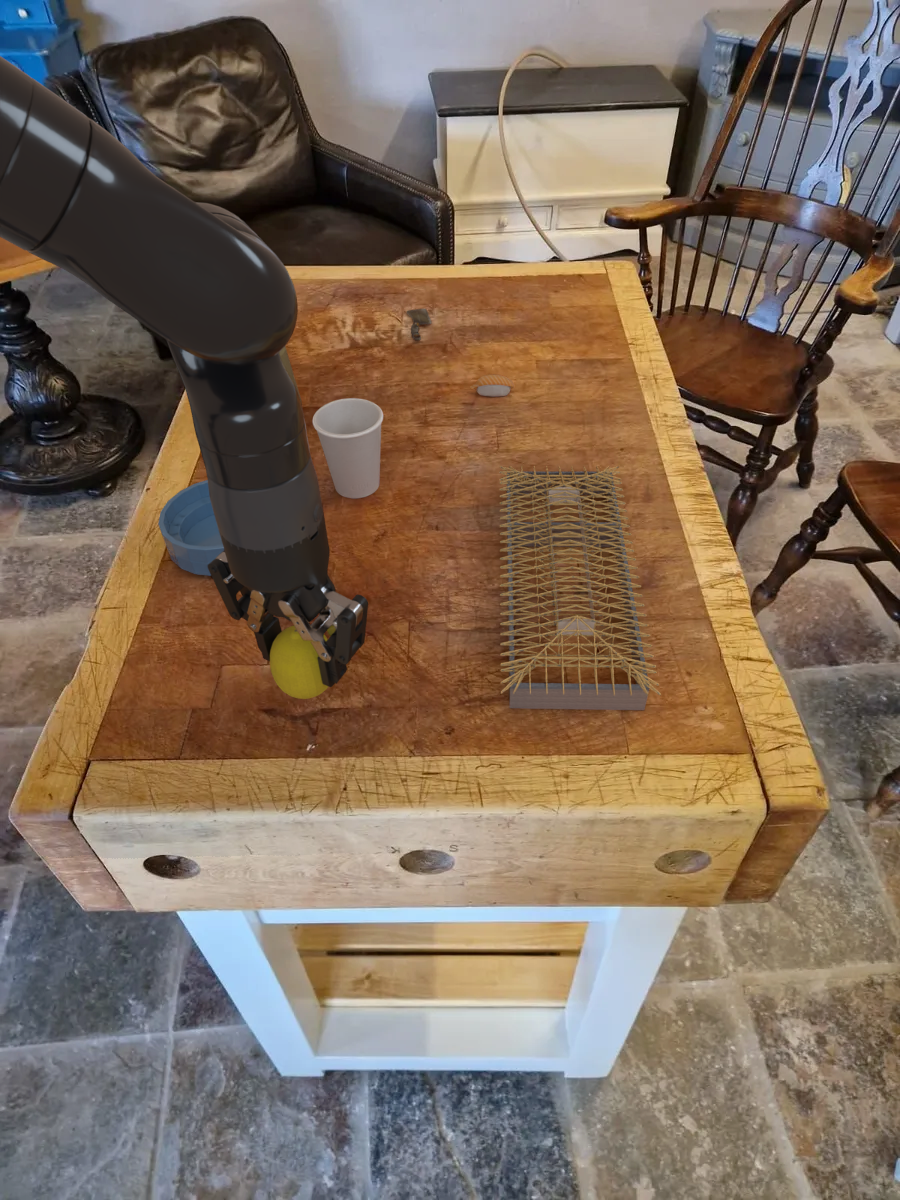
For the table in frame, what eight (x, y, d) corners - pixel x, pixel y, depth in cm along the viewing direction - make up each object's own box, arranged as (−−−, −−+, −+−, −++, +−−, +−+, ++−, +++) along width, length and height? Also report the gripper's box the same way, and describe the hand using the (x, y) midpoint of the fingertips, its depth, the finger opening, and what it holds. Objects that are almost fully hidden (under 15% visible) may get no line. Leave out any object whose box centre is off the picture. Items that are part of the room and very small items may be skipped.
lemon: (351, 679, 72) (341, 618, 67) (319, 725, 69) (306, 664, 63) (299, 661, 74) (286, 599, 68) (266, 704, 70) (248, 643, 65)
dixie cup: (320, 471, 103) (307, 403, 96) (383, 460, 105) (376, 392, 98) (329, 510, 98) (317, 441, 90) (396, 498, 99) (389, 429, 92)
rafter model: (499, 488, 100) (499, 447, 95) (615, 489, 99) (621, 447, 95) (500, 715, 75) (501, 673, 71) (655, 718, 74) (666, 675, 70)
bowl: (236, 593, 88) (226, 563, 84) (145, 558, 92) (133, 528, 89) (305, 524, 96) (299, 494, 93) (219, 495, 100) (210, 465, 97)
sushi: (514, 398, 115) (515, 379, 112) (469, 398, 115) (469, 379, 113) (514, 389, 116) (514, 370, 114) (470, 389, 117) (470, 370, 115)
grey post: (437, 311, 135) (408, 311, 136) (437, 304, 134) (408, 304, 135) (424, 342, 127) (394, 341, 127) (424, 335, 126) (393, 334, 127)
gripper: (157, 513, 57) (210, 667, 69) (323, 575, 52) (350, 729, 64) (224, 459, 62) (263, 612, 74) (383, 511, 57) (397, 665, 69)
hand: (304, 666), depth 69 cm, fingers closed on lemon, 5 cm apart
